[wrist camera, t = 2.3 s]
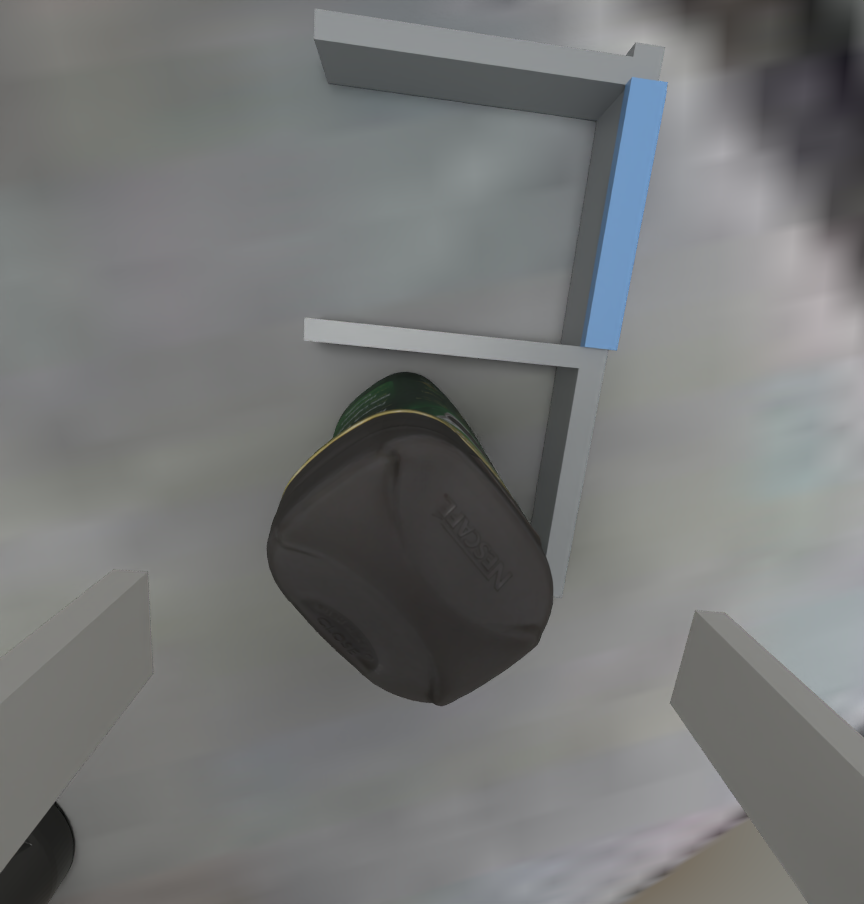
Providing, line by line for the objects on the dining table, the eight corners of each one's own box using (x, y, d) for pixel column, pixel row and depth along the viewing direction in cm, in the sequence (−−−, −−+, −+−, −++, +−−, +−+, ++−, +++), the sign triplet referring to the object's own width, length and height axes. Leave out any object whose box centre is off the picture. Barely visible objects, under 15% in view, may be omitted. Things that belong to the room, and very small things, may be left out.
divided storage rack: (309, 551, 33) (292, 586, 28) (329, 45, 25) (312, -19, 21) (550, 568, 34) (572, 604, 29) (636, 90, 27) (683, 39, 22)
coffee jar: (318, 427, 31) (189, 557, 13) (412, 351, 30) (418, 376, 12) (409, 532, 33) (410, 773, 15) (500, 465, 32) (618, 634, 14)
